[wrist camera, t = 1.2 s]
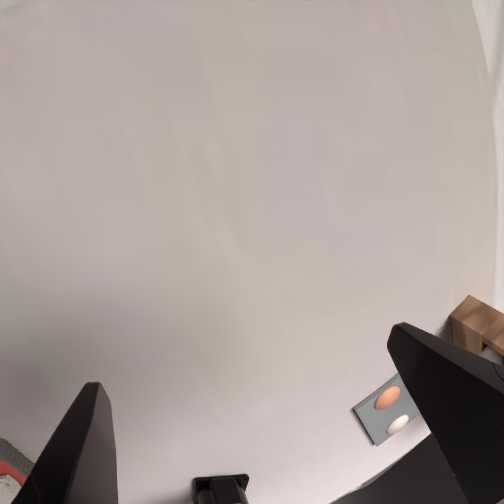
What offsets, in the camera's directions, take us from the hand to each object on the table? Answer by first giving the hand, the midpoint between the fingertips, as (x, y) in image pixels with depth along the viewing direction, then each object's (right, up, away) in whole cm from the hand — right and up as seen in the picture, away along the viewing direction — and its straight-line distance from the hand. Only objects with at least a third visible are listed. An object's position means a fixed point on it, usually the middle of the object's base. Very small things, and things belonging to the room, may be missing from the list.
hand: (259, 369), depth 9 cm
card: (+18, -17, +26) cm, 36 cm away
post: (+27, -5, +25) cm, 37 cm away
